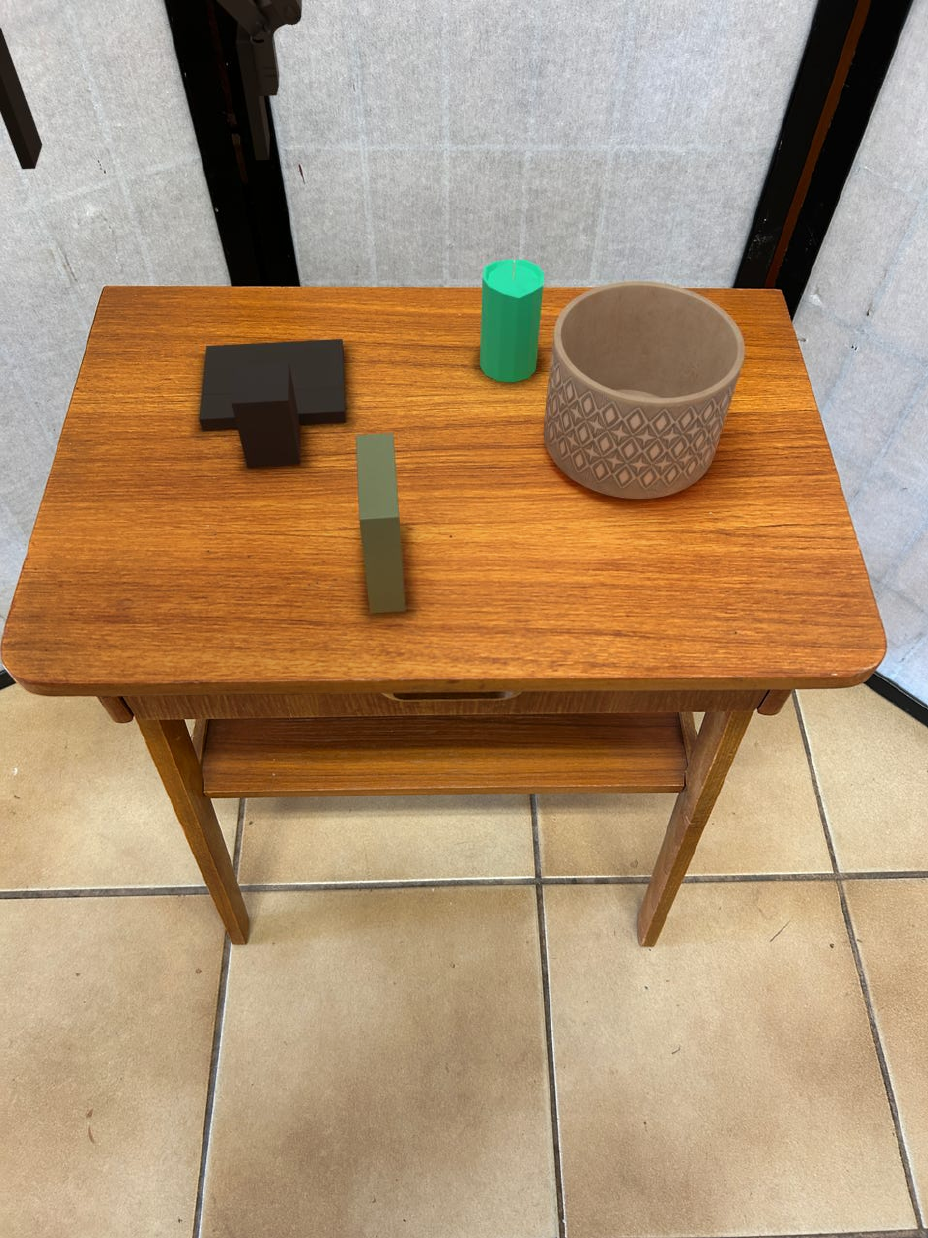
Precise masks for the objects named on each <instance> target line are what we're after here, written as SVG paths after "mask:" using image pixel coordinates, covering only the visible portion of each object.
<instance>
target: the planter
mask: <svg viewBox="0 0 928 1238" xmlns="http://www.w3.org/2000/svg"><path fill="white" fill-rule="evenodd" d="M552 335H553V336H552V344H551V354H550V364H549V374H548V380H547V381H548V382H547V392H546V399H545V400H546V401H545V410H544V419H543V433H542V435H543V441H544V445H545V448H546V450H547V453H548V455H549V456H550V459H552V461H553V462H554V464H555V465H556V466H557V467H558V468H559V470H561V472H562V473H564V474H565V475H566V476H568V477H569V478H570V479H571V480H573V481H574V482H575V483H578V484H579V485H581V486H583V487H585V488H586V489H590V490H592V491H594V492H596V493H599V494H603V495H606V496H611V497H614V498H621V499H628V500H629V499H630V500H652V499H656V498H663V497H668V496H671V495H673V494H677V493H679V492H681V491H684V490H686V489H687V488H688V489H689V487H691V486H692V485H693V484H695V483H696V482H698V481H699V480H700V479H701V478H702V477H703V476H704V475H705V474H706V473H707V471H708V470H709V468H710V466H711V465H712V462H713V460H714V457H715V454H716V452H717V448H718V445H719V441H720V439H721V435H722V433H723V430H724V429H723V428H724V426H725V422H726V419H727V416H728V412H729V410H730V406H731V404H732V400H733V397H734V394H735V391H736V388H737V384H738V381H739V378H740V374H741V371H742V368H743V365H744V362H745V356H746V345H745V339H744V336H743V334H742V331H741V329H740V327H739V326H738V325H737V323H736V321H735V320H734V319H733V318H732V316H730V315H729V314H728V312H727V311H725V310H724V309H723V308H722V307H720V306H719V305H718V304H716V303H715V302H714V301H712V300H710V299H709V298H707V297H705V296H703V295H701V294H699V293H698V292H697V293H696V292H695V291H692V290H689V289H687V288H684V287H681V286H676V285H674V284H673V285H672V284H669V283H663V282H656V281H645V280H632V281H631V280H628V281H627V280H626V281H619V282H611V283H607V284H603V285H600V286H597V287H594V288H592V289H589V290H587V291H585V292H583V293H581V294H580V295H578V296H576V297H575V298H573V299H572V300H570V302H568V304H566V306H565V307H563V309H562V310H561V311H560V313H559V315H558V316H557V319H556V320H555V323H554V328H553V334H552Z"/></svg>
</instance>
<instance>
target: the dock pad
mask: <svg viewBox="0 0 928 1238" xmlns="http://www.w3.org/2000/svg"><path fill="white" fill-rule="evenodd" d="M287 363H289V365H290V371H291V377H292V383H293V388H294V394H295V400H296V405H297V411H298V417H299V423H300V426H307V425H322V424H323V425H324V424H326V425H327V424H342V423H347V409H346V408H347V407H346V404H347V403H346V375H345V349H344V340H343V338H333V339H331V338H330V339H315V340H314V339H313V340H312V339H311V340H295V341H293V340H292V341H274V342H255V343H253V342H252V343H235V344H215V345H213V344H212V345H206V346H205V355H204V365H203V374H202V375H203V376H202V384H201V385H202V386H201V396H200V406H199V416H198V420H199V423H200V424H199V425H200V427H201V430H202V431H217V430H234V429H237V424H236V420H235V416H234V412H233V408H232V404H231V401H232V386H233V372H234V366H249V365H268V364H287ZM237 430H238V429H237Z"/></svg>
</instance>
